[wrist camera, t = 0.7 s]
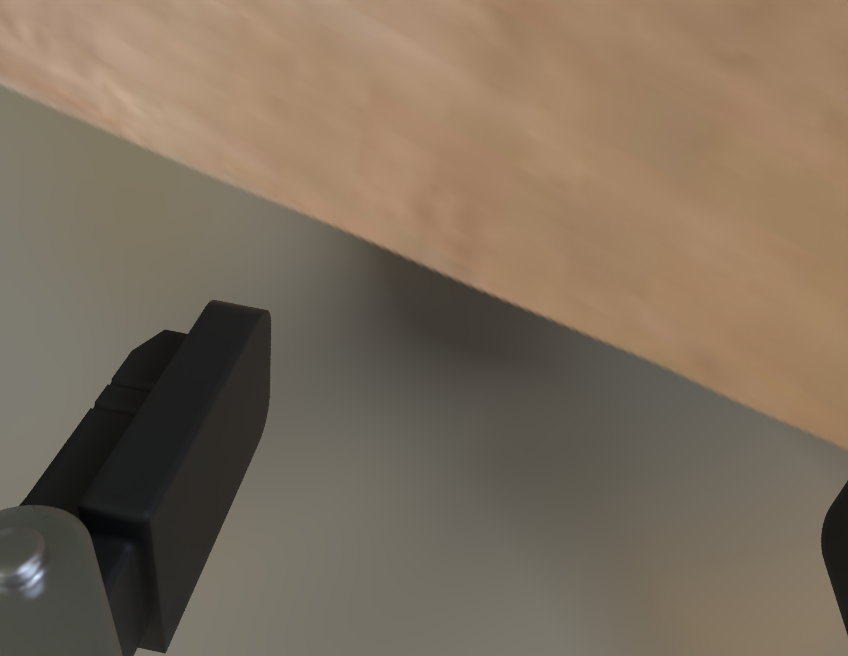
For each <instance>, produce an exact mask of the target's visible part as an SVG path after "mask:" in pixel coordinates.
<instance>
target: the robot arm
mask: <svg viewBox="0 0 848 656" xmlns="http://www.w3.org/2000/svg"><path fill="white" fill-rule="evenodd" d="M270 350H271V317H270V313H269V311H268V310H264V309H258V308H253V307H248V306H243V305H238V304H233V303H228V302H223V301H217V300H212V301H210V302H209V303H208V304H207V306H206V307H205V309H204V310H203V312H202V313H201V315H200V317H199V318H198V320H197V321H196V323H195V324H194V326H193V327H192V329H191V330H190V332H189V333H188V334H185V333H180V332H175V331H170V330H163V331H162V332H160V333H159V334H157V335H156V336H154V337H153V338H151V339H149V340H148V341H146V342H145V343H143V344H142V345H140V346H139V347H137V348H135V349H134V350H132V351H131V353H130V354H129V356H128V357H127V359H126V360H125V361H124V362H123V364H122V365H121V367H120V368H119V369H118V371H117V372H116V374H115V375H114V376H113V378H112V382H111V384H110V385H107V386H106V388H105V389H104V391H103V392H102V393H101V394H100V396H99V397H98V399H97V400H96V401H95V406H94V408H93V409H92V408H91V409H90V410H89V411H88V412H87V414H86V415H85V417H84V418H83V419H82V421H81V422H80V424H79V425H78V426H77V428H76V429H75V431H74V432H73V433H72V435H71V436H70V438H69V439H68V440H67V442H66V443H65V444H64V446H63V447H62V449H61V450H60V451H59V453H58V454H57V456H56V457H55V458H54V460H53V461H52V462H51V464H50V465H49V467H48V468H47V469H46V471H45V472H44V474H43V475H42V476H41V478H40V479H39V480H38V482H37V483H36V485H35V486H34V487H33V489H32V490H31V491H30V493H29V494H28V496H27V497H26V498H25V500H24V501H23V502H22V503H21V504H20V505H19V506H17V507H12V508H7V509H4V510H1V511H0V656H133V655H134V654H135V652H136V649H137V647H138V648H143V649H147V650H152V651H157V652H162V653H166V651H167V649H168V647H169V644H170V642H171V640H172V638H173V635H174V633H175V631H176V629H177V626H178V624H179V622H180V619H181V617H182V615H183V613H184V611H185V608H186V606H187V604H188V601H189V599H190V597H191V595H192V593H193V590H194V588H195V586H196V584H197V581H198V579H199V577H200V574H201V572H202V570H203V568H204V566H205V563H206V561H207V559H208V556H209V554H210V552H211V550H212V547H213V545H214V543H215V541H216V538H217V536H218V534H219V532H220V529H221V527H222V525H223V523H224V520H225V518H226V516H227V514H228V511H229V509H230V507H231V505H232V502H233V500H234V498H235V495H236V493H237V490H238V489H239V486H240V484H241V482H242V480H243V477H244V475H245V473H246V471H247V468H248V466H249V464H250V462H251V459H252V457H253V455H254V453H255V450H256V448H257V446H258V443H259V441H260V438H261V436H262V433H263V430H264V426H265V422H266V418H267V412H268V407H269V398H270V355H271V351H270ZM821 536H822V537H821V547H822V554H823V558H824V561H825V565H826V568H827V571H828V574H829V577H830V580H831V584H832V587H833V590H834V593H835V596H836V600H837V602H838V606H839V609H840V612H841V615H842V619H843V622H844V625H845V628H846V631H847V634H848V481H847V483H846V484H845V486H844V487H843V489H842V490H841V492H840V493H839V495H838V496H837V498H836V499H835V501H834V502H833V504H832V505H831V507H830V509H829V510H828V512H827V514H826V517H825V520H824V523H823V528H822V535H821Z"/></svg>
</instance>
